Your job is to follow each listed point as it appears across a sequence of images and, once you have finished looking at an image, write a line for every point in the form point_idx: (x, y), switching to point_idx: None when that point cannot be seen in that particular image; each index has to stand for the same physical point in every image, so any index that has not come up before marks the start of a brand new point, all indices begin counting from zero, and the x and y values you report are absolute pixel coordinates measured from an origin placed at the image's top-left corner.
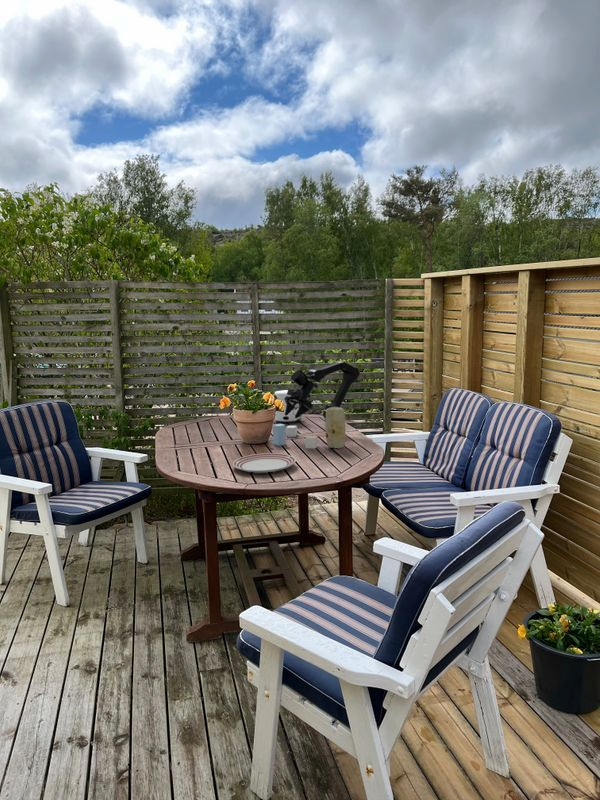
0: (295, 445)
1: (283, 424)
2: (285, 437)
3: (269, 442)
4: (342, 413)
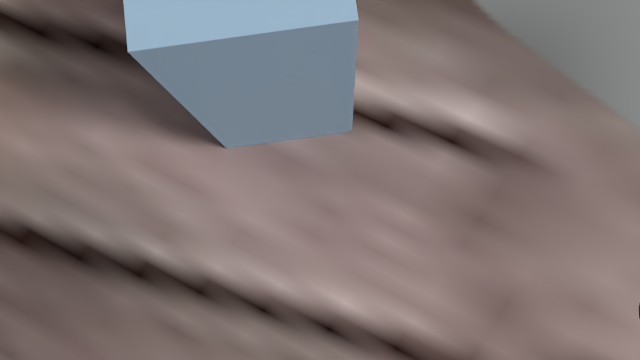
0: (93, 233)
1: (211, 39)
2: (204, 122)
3: (462, 8)
4: None
